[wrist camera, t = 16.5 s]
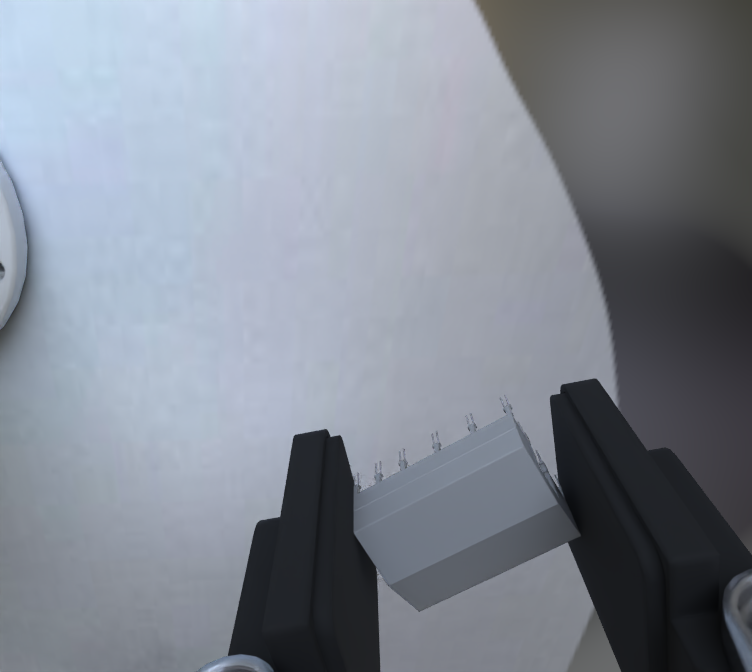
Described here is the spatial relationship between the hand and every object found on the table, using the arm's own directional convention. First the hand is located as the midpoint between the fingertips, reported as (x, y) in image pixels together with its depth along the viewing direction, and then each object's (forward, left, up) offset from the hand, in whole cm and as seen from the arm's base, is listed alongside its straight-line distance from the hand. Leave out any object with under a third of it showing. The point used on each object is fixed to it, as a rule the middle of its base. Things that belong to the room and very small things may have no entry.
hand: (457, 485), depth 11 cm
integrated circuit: (0, 0, 0) cm, 0 cm away
